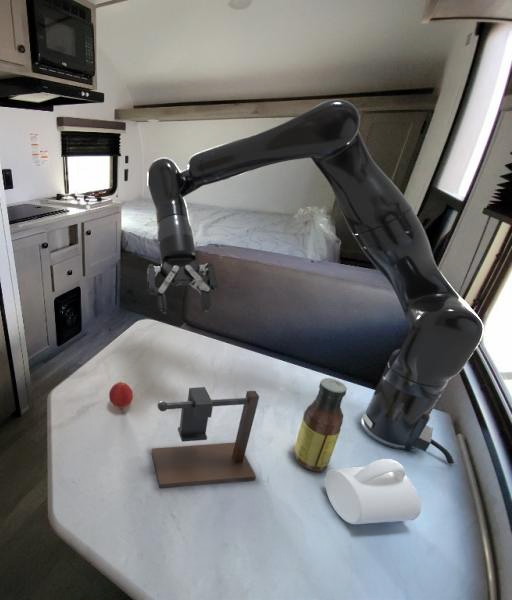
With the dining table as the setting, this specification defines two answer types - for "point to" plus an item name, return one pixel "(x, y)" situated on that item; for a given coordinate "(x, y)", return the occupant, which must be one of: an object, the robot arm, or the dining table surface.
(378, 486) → the mug
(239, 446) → the rack
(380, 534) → the dining table surface
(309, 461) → the sauce bottle
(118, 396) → the red rounded oval body
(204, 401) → the grey hanging weight
